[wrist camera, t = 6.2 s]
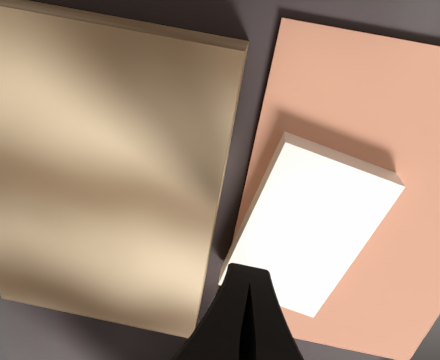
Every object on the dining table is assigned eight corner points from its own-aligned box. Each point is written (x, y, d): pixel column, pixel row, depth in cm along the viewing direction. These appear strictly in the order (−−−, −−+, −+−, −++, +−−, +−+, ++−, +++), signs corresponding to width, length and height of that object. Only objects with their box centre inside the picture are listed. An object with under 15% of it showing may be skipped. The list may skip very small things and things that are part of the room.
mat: (406, 357, 20) (408, 362, 20) (215, 317, 21) (215, 321, 21) (589, 73, 13) (596, 74, 12) (281, 17, 13) (281, 18, 13)
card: (310, 299, 19) (313, 317, 18) (221, 267, 19) (217, 284, 18) (395, 173, 15) (405, 186, 14) (284, 131, 15) (285, 142, 14)
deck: (201, 301, 20) (192, 339, 18) (30, 265, 21) (1, 298, 19) (249, 41, 14) (245, 51, 11) (-6, -6, 14) (-58, -5, 12)
